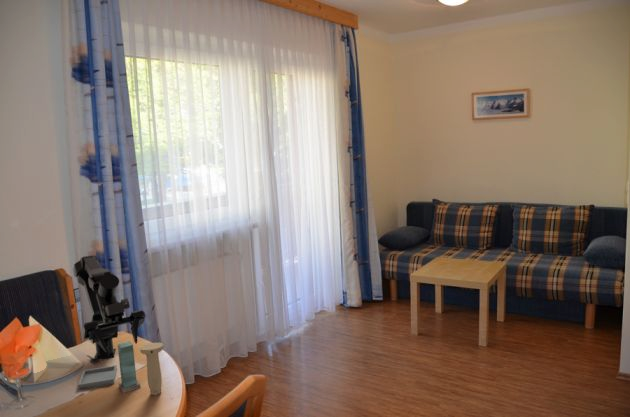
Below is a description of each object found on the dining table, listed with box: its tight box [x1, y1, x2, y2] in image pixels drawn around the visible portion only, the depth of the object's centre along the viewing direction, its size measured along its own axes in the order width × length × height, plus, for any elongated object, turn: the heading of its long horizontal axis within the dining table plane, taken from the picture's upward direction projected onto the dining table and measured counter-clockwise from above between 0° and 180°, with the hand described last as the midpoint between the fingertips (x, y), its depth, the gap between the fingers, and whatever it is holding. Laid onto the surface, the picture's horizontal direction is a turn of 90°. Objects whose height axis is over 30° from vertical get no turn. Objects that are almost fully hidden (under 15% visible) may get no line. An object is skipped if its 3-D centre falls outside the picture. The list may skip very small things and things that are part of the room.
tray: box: [77, 364, 118, 390], centre depth 162 cm, size 10×10×2 cm
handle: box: [139, 342, 164, 396], centre depth 151 cm, size 5×6×15 cm
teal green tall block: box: [117, 340, 141, 393], centre depth 156 cm, size 5×5×14 cm
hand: (121, 347), depth 159 cm, fingers open, 9 cm apart
